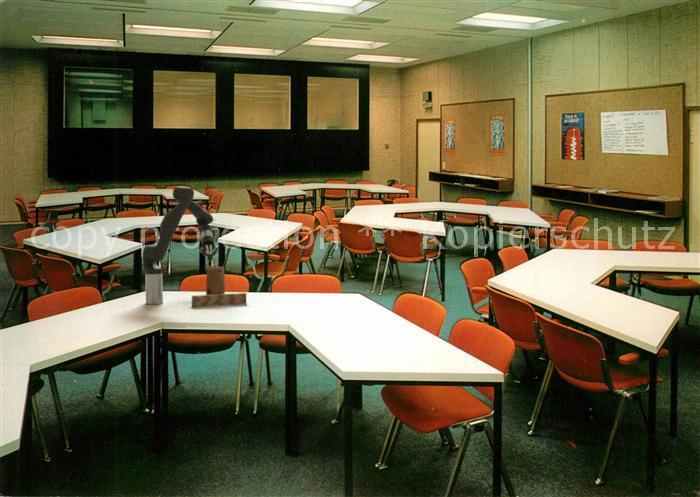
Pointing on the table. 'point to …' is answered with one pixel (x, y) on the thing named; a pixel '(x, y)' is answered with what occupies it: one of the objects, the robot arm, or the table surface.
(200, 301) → the board
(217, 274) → the block
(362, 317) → the table surface
